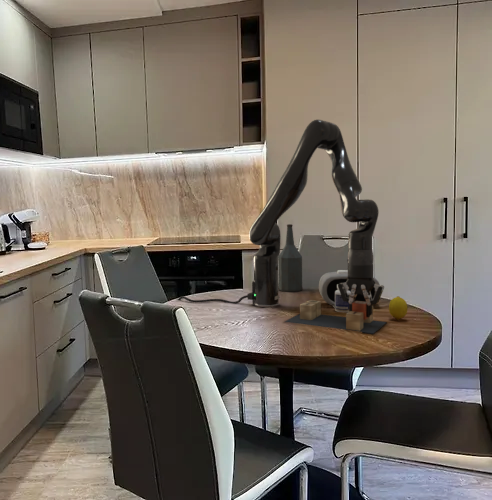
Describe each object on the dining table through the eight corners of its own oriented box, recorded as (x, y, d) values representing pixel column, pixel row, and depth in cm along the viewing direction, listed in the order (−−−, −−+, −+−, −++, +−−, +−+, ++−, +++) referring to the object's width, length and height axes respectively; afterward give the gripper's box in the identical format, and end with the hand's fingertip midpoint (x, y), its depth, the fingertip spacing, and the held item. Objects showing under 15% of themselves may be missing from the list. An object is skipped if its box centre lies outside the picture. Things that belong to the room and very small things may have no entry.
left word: (299, 318, 167) (299, 304, 166) (309, 313, 174) (309, 299, 173) (311, 320, 164) (311, 305, 164) (321, 315, 171) (320, 300, 171)
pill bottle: (352, 312, 174) (352, 286, 173) (336, 312, 175) (336, 286, 174) (349, 309, 179) (349, 283, 178) (333, 309, 180) (333, 283, 179)
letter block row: (346, 329, 152) (346, 313, 151) (360, 319, 163) (360, 304, 163) (359, 331, 149) (359, 314, 149) (373, 320, 161) (373, 305, 160)
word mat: (284, 322, 164) (284, 321, 164) (302, 313, 176) (302, 312, 176) (373, 334, 146) (373, 333, 146) (386, 323, 158) (386, 321, 158)
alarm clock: (321, 308, 183) (321, 273, 182) (318, 302, 192) (318, 269, 191) (381, 308, 178) (381, 272, 177) (375, 303, 187) (375, 268, 186)
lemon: (405, 318, 163) (406, 294, 163) (408, 322, 158) (409, 298, 157) (387, 317, 165) (387, 294, 164) (389, 321, 160) (390, 297, 159)
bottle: (280, 292, 217) (279, 225, 214) (277, 288, 227) (276, 224, 224) (304, 292, 215) (303, 224, 212) (300, 288, 225) (299, 223, 222)
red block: (352, 318, 156) (352, 302, 155) (355, 315, 159) (355, 300, 158) (365, 319, 153) (365, 303, 152) (369, 317, 156) (369, 301, 156)
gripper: (387, 262, 152) (387, 315, 154) (341, 260, 162) (341, 311, 163) (381, 265, 147) (381, 320, 148) (333, 263, 156) (334, 315, 157)
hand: (360, 315), depth 156 cm, fingers closed on red block, 4 cm apart
